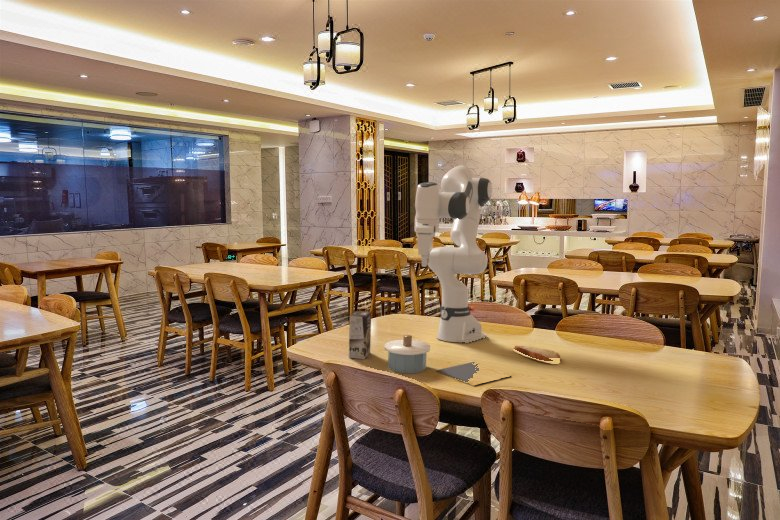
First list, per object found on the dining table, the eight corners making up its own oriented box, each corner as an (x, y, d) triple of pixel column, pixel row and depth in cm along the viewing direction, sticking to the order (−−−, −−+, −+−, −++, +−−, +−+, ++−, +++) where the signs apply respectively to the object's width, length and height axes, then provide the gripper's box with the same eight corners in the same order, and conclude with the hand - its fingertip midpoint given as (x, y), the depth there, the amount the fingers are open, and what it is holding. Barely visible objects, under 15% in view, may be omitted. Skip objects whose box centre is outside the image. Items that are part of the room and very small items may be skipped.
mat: (473, 363, 202) (473, 361, 202) (511, 376, 188) (511, 375, 188) (436, 371, 192) (436, 370, 192) (473, 386, 177) (473, 385, 177)
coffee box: (365, 359, 203) (366, 316, 202) (348, 358, 205) (349, 315, 203) (370, 352, 212) (371, 311, 210) (354, 351, 214) (355, 310, 212)
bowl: (409, 360, 204) (410, 341, 204) (432, 369, 194) (433, 350, 193) (381, 365, 197) (381, 346, 196) (403, 376, 186) (404, 355, 186)
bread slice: (512, 349, 224) (513, 340, 224) (559, 353, 220) (559, 344, 219) (511, 361, 207) (512, 352, 206) (561, 366, 202) (562, 356, 202)
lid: (410, 340, 206) (410, 328, 205) (439, 350, 193) (440, 337, 193) (375, 346, 196) (375, 333, 196) (403, 357, 184) (404, 344, 183)
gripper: (420, 225, 212) (419, 261, 214) (415, 228, 192) (413, 267, 194) (437, 226, 211) (435, 262, 213) (433, 229, 191) (432, 268, 193)
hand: (425, 264), depth 203 cm, fingers open, 8 cm apart
